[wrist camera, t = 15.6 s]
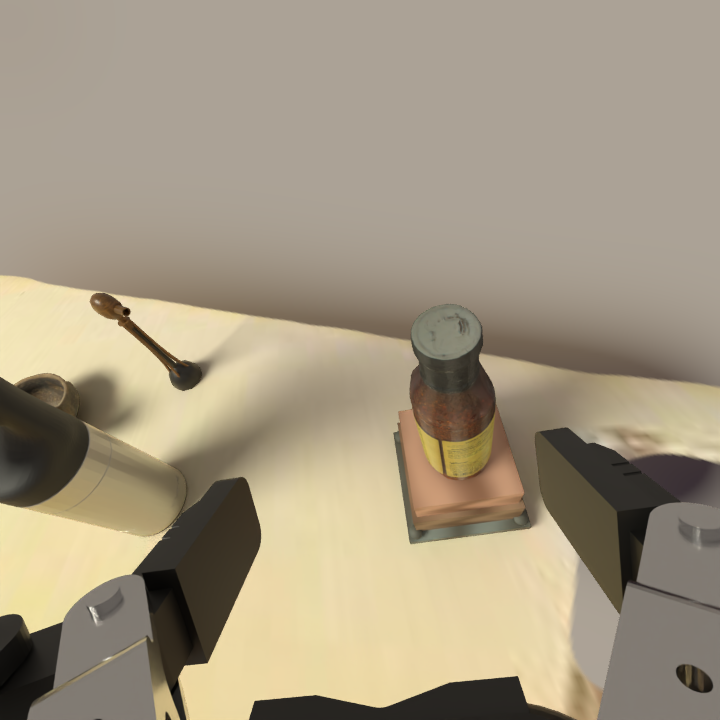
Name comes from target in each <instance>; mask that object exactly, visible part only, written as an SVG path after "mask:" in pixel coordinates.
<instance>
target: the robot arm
mask: <svg viewBox="0 0 720 720" xmlns="http://www.w3.org/2000/svg"><path fill="white" fill-rule="evenodd" d="M535 446H536V455H537V464H538V473H539V482H540V489H541V494H542V497H543V500H544V503H545V505H546V508H547V509H548V511H549V513H550V514H551V516H552V517H553V519H554V520H555V521H556V523H557V524H558V526H559V527H560V529H561V530H562V532H563V533H564V535H565V536H566V537H567V539H568V540H569V542H570V543H571V545H572V546H573V548H574V549H575V550H576V552H577V553H578V555H579V556H580V558H581V559H582V561H583V562H584V563H585V565H586V566H587V568H588V569H589V571H590V572H591V574H592V575H593V577H594V578H595V580H596V581H597V582H598V584H599V585H600V587H601V588H602V590H603V591H604V593H605V594H606V595H607V597H608V598H609V600H610V601H611V603H612V604H613V605H614V607H615V609H616V610H617V611H618V613H619V614H620V618H619V622H618V627H617V631H616V636H615V640H614V645H613V649H612V654H611V659H610V664H609V668H608V672H607V677H606V682H605V686H604V691H603V695H602V700H601V704H600V709H599V714H598V718H597V720H720V509H718V508H714V507H710V506H706V505H702V504H695V503H684V502H683V503H682V502H680V501H679V500H678V499H677V498H675V497H674V496H672V495H671V494H670V493H669V492H667V491H666V490H665V489H664V488H662V487H661V486H660V485H658V484H657V483H656V482H655V481H653V480H652V479H651V478H649V477H648V476H647V475H645V474H642V473H641V471H640V470H639V469H638V468H636V467H635V466H634V465H633V464H629V461H627V460H626V459H625V458H623V457H622V456H621V455H620V454H618V453H617V452H616V451H614V450H612V449H609V448H606V447H604V446H601V445H599V444H596V443H589V444H586V443H585V442H584V441H583V440H582V439H581V438H579V437H578V436H577V435H576V434H575V433H573V432H572V431H571V430H570V429H569V428H560V429H553V430H547V431H541V432H537V433H536V435H535ZM186 489H187V487H186V481H185V479H184V476H183V475H182V474H181V472H180V471H178V470H177V469H176V468H174V467H172V466H170V465H168V464H166V463H164V462H162V461H160V460H158V459H156V458H154V457H153V456H151V455H149V454H147V453H145V452H143V451H141V450H139V449H137V448H135V447H133V446H131V445H129V444H127V443H125V442H123V441H121V440H119V439H117V438H115V437H113V436H111V435H109V434H107V433H105V432H103V431H101V430H99V429H97V428H95V427H93V426H91V425H89V424H87V423H85V422H84V421H82V420H80V419H78V418H76V417H74V416H72V415H70V414H68V413H66V412H64V411H62V410H60V409H58V408H56V407H54V406H52V405H50V404H48V403H46V402H44V401H42V400H40V399H38V398H36V397H34V396H32V395H30V394H28V393H27V392H25V391H23V390H21V389H20V388H18V387H16V386H14V385H13V384H11V383H9V382H8V381H6V380H4V379H3V378H1V377H0V503H3V504H7V505H11V506H15V507H21V508H25V509H29V510H33V511H37V512H41V513H46V514H50V515H55V516H59V517H63V518H67V519H71V520H75V521H79V522H83V523H87V524H92V525H96V526H100V527H104V528H108V529H112V530H116V531H120V532H124V533H128V534H132V535H137V536H143V537H145V536H151V535H154V534H157V533H159V532H161V531H162V530H164V529H165V528H166V527H168V526H169V525H170V524H171V523H172V522H173V521H174V520H175V518H176V517H177V516H178V514H179V512H180V511H181V509H182V507H183V504H184V502H185V498H186ZM260 543H261V529H260V524H259V520H258V517H257V513H256V509H255V506H254V502H253V499H252V495H251V492H250V488H249V485H248V482H247V481H246V479H245V478H243V477H239V478H232V479H226V480H220V481H216V482H215V483H214V484H213V485H212V486H211V487H210V489H209V490H208V491H207V492H206V494H205V495H204V496H203V497H202V499H201V500H200V501H198V502H197V503H196V504H194V505H193V506H192V507H190V508H189V509H188V510H186V511H185V512H184V513H182V515H181V516H180V517H179V518H178V519H177V521H176V522H175V523H174V524H173V525H172V529H169V530H168V531H167V533H166V534H165V535H164V536H163V537H162V540H161V541H159V542H158V543H157V545H156V546H155V547H154V548H153V549H152V551H151V552H150V553H149V554H148V555H147V557H146V558H145V559H144V560H143V561H142V563H141V564H140V565H139V566H138V567H137V569H136V570H135V571H134V572H133V573H132V575H125V576H121V577H117V578H115V579H112V580H110V581H107V582H105V583H103V584H101V585H100V586H98V587H96V588H95V589H93V590H91V591H90V592H89V593H87V594H86V595H85V596H83V597H82V598H81V599H80V600H79V601H78V602H77V603H75V604H74V606H73V607H72V608H71V609H70V610H69V612H68V613H67V614H66V616H65V618H64V621H63V622H62V623H59V624H56V625H53V626H51V627H48V628H45V629H42V630H39V631H37V632H34V633H31V634H29V631H28V629H27V627H26V625H25V622H24V620H23V618H22V617H21V616H20V615H17V614H10V615H5V616H1V617H0V720H190V719H189V714H188V709H187V705H186V700H185V695H184V691H183V687H182V684H181V681H180V679H179V675H180V673H181V671H182V669H183V667H184V666H185V665H195V664H204V663H208V661H209V659H210V657H211V654H212V652H213V650H214V648H215V646H216V643H217V641H218V639H219V637H220V635H221V632H222V630H223V628H224V626H225V623H226V621H227V619H228V617H229V615H230V612H231V610H232V608H233V606H234V603H235V601H236V599H237V597H238V595H239V592H240V590H241V588H242V586H243V584H244V581H245V579H246V577H247V575H248V572H249V570H250V568H251V566H252V564H253V561H254V559H255V557H256V555H257V553H258V550H259V547H260ZM249 720H576V719H574V718H572V717H569V716H567V715H565V714H562V713H560V712H558V711H555V710H551V709H548V708H545V707H542V706H538V705H533V704H528V703H527V702H526V699H525V696H524V693H523V690H522V687H521V684H520V681H519V678H518V676H515V677H505V678H494V679H484V680H473V681H462V682H452V683H448V684H445V685H442V686H440V687H437V688H435V689H432V690H429V691H427V692H424V693H422V694H419V695H416V696H414V697H411V698H409V699H406V700H403V701H401V702H398V703H396V704H393V705H390V706H388V707H384V708H375V707H370V706H365V705H361V704H356V703H351V702H346V701H341V700H336V699H332V698H327V697H322V696H317V695H313V696H303V697H292V698H281V699H271V700H260V701H255V702H254V705H253V708H252V712H251V715H250V718H249Z"/></svg>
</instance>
